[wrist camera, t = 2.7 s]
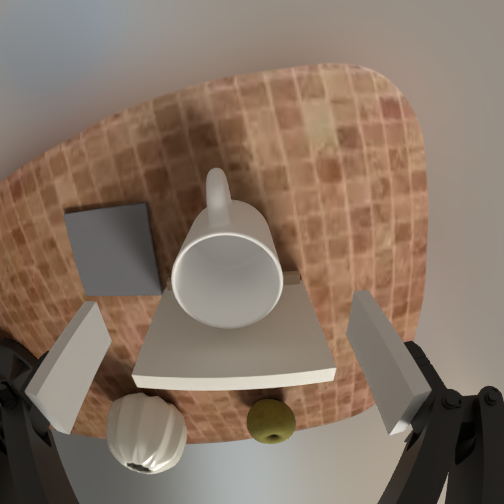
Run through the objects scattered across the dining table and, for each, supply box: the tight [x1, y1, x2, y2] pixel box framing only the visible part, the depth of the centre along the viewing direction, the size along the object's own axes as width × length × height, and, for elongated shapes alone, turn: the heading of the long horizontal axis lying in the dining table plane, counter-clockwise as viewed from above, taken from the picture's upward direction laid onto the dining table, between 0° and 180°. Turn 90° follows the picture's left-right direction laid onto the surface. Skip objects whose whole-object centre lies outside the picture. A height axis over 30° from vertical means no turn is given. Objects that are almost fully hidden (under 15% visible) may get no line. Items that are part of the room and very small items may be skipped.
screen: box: [132, 271, 336, 390], centre depth 26 cm, size 16×4×14 cm, turn 92°
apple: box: [247, 399, 296, 444], centre depth 39 cm, size 8×8×7 cm
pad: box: [64, 202, 163, 296], centre depth 29 cm, size 11×11×1 cm
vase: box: [107, 392, 187, 474], centre depth 36 cm, size 14×14×13 cm
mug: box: [171, 168, 283, 329], centre depth 24 cm, size 12×8×10 cm
